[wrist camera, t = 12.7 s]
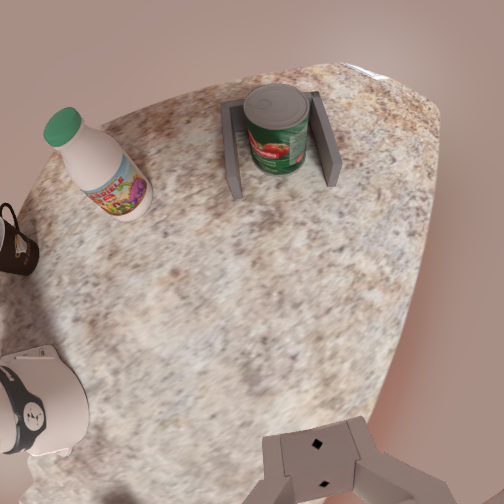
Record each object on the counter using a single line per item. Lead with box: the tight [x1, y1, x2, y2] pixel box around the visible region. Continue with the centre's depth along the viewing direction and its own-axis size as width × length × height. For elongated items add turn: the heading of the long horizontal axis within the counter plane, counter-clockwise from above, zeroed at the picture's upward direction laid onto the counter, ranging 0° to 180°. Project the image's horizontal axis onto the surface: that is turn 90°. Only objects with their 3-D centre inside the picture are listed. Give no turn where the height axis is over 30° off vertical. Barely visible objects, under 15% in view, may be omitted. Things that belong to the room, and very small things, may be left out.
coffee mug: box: [0, 203, 39, 276], centre depth 39 cm, size 12×9×10 cm
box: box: [221, 91, 342, 199], centre depth 41 cm, size 14×13×6 cm
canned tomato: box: [243, 84, 309, 177], centre depth 38 cm, size 8×8×11 cm
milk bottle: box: [44, 107, 153, 222], centre depth 35 cm, size 8×8×20 cm
